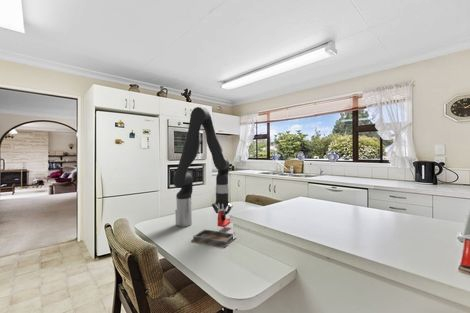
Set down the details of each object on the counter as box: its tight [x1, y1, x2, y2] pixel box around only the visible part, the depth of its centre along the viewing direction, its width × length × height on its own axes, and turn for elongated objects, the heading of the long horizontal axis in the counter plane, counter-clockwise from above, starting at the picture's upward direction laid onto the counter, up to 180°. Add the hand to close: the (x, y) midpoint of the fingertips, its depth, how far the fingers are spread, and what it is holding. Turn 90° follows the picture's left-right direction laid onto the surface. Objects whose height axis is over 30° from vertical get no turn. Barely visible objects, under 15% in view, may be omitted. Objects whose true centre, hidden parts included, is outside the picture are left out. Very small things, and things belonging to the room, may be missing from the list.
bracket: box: [217, 211, 231, 228], centre depth 132 cm, size 12×4×8 cm, turn 156°
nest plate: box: [191, 229, 235, 248], centre depth 117 cm, size 20×13×2 cm, turn 66°
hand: (222, 220), depth 131 cm, fingers closed on bracket, 1 cm apart
